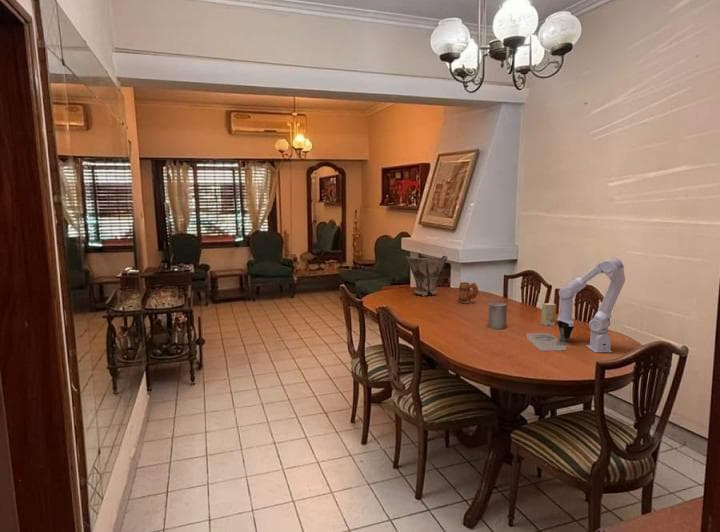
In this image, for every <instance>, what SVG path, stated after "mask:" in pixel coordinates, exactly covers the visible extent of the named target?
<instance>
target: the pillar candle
mask: <svg viewBox="0 0 720 532" xmlns="http://www.w3.org/2000/svg"><path fill="white" fill-rule="evenodd" d="M507 310H508V307H507V303H506V302H503V301H490V302H489V303H488V328H490V329H493V330H505V329H507V313H508V312H507Z"/></svg>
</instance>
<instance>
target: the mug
mask: <svg viewBox="0 0 720 532" xmlns="http://www.w3.org/2000/svg"><path fill="white" fill-rule="evenodd" d="M458 290H459V292H458V293H459V296H458V301H459V303H460V304H463V303H465V304H470V303H471V300H473V299H476V298H477V296H478V293H479V287H478V285H477V284H476V282H471V283H469V282H465V281H464V282H463V281H462V282H460V283H459V287H458ZM471 290H472V292H471Z"/></svg>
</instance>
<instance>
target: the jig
mask: <svg viewBox="0 0 720 532" xmlns="http://www.w3.org/2000/svg"><path fill="white" fill-rule="evenodd" d="M526 338H527V340H528V341H529V342H530V343H531V344H533V346H535V347H536V348H537V349H538V350H539V351H540V352H541V351H542V352H544V351H545V352H546V351H552V352H553V351H559V352H560V351H561V350H566V351H567V345H566V343H564V342H561V341H560V338H559V339H558V338H557V337H556V336H555V335H554V334H552V333H551V332H528V333H526Z"/></svg>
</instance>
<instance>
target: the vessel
mask: <svg viewBox="0 0 720 532" xmlns="http://www.w3.org/2000/svg"><path fill="white" fill-rule="evenodd" d="M405 260H406V261H407V263H408V265H409V267H410V271H411V273H412V275H413V278H414V281H415V282H414V283H415V289H414V291H413V294H414V295H416V294H417V296H420V295H424V296H425V297H427V296H429V295H430V296H431V295H433V296H437V295H438V291H437V290H436V284H437V282H438V279H439V276H440V274H441V272H442V270H443V268H444V266H445V264H446V262H447V260H448V256H447V255H442V257H413V256H412V257H411V256H405ZM428 294H429V295H428ZM436 294H437V295H436Z"/></svg>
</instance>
